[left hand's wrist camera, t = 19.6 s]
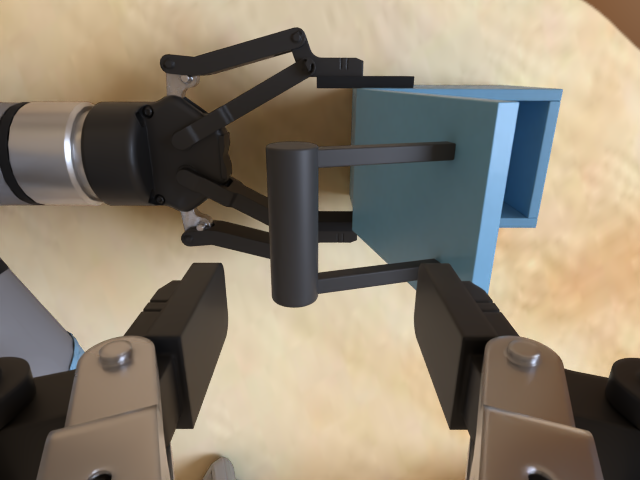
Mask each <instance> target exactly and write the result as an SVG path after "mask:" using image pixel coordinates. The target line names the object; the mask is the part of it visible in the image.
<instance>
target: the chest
mask: <svg viewBox="0 0 640 480" xmlns="http://www.w3.org/2000/svg"><path fill="white" fill-rule="evenodd" d="M357 89H379V90H390V91H402V92H413V93H424V94H436V95H447V96H459V97H470V98H481V99H493V100H504V101H515V102H519V108H518V114H517V120H516V126H515V132H514V138H513V144H512V150H511V157H510V163H509V169H508V175H507V181H506V187H505V193H504V199H503V205H502V211H501V217H500V223H499V228H535V227H536V224H537V218H538V213H539V208H540V203H541V198H542V193H543V188H544V183H545V178H546V173H547V168H548V162H549V157H550V152H551V147H552V142H553V137H554V132H555V127H556V122H557V117H558V112H559V107H560V101H561V97H562V92H563V90H562V89H552V88H537V87H522V86H501V85H414V86H413V88H353V95H352V129H351V145H355V128H356V98H357ZM353 188H354V166H350V199H351V203H352V207H353Z"/></svg>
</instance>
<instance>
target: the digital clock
mask: <svg viewBox="0 0 640 480" xmlns="http://www.w3.org/2000/svg"><path fill="white" fill-rule="evenodd" d="M203 480H236V479H235V473H234V468H233V465H232V463H231V462H230V461H229V460H228V459H227V458H225V457H221V458H219V459H218V460H216V461H215V462H214V463H212V464H211V466H210V467H209V469H208V471H207V473H206V474H205V476H204V478H203Z"/></svg>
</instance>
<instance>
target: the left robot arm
mask: <svg viewBox="0 0 640 480" xmlns="http://www.w3.org/2000/svg"><path fill="white" fill-rule="evenodd" d="M414 328H415V334H416V338H417V341H418V344H419V346H420V349H421V352H422V355H423V357H424V360H425V363H426V366H427V368H428V371H429V374H430V377H431V379H432V382H433V385H434V388H435V390H436V393H437V396H438V399H439V401H440V404H441V407H442V410H443V412H444V415H445V418H446V420H447V423H448V426H449V429H450V430H468V432H469V434H470V442H469V448H468V456H467V466H466V476H465V480H640V358H624V359H620V360H618V361H616V362H615V363H614V364H613V366H612V369H611V372H610V375H609V378H606V377H601V376H596V375H591V374H586V373H581V372H576V371H571V370H567V369H564V366H563V362H562V360H561V358H560V357H559V356H558V355H557V354H556V353H555V352H554V351H553V350H552V349H550V348H549V347H547V346H545V345H543V344H541V343H539V342H537V341H534V340H531V339H528V338H524V337H520V336H519V335H518V334H517V332H516V331H515V330H514V328H513V327H512V326H511V324H510V323H509V322H508V320H507V319H506V318H505V317H504V315H503V314H502V313H501V312H499V309H498V307H497V306H496V305H495V303H493V301H492V299H491V298H490V297H489V295H488V294H487V293H486V292H485V290H483V289H482V288H480V287H479V286H477V285H475V284H474V283H472V282H471V281H461V280H460V278H459V277H458V275H457V274H456V272H455V271H454V269H453V268H452V266H451V265H450V264H449V263H421V264H420V266H419V270H418V278H417V289H416V300H415V311H414ZM227 329H228V309H227V298H226V287H225V275H224V268H223V265H222V263H193V264H192V265H191V267H190V268H189V270H188V271H187V273H186V274H185V276H184V277H183V279H182V280H173V281H171V282H170V283H168V284H166V285H165V286H163V287H162V288H160V289H158V291H157V292H156V293H155V295H154V296H153V297H152V299H151V300H150V303H148V304H147V305H146V307H145V308H144V309H143V312H141V313H140V315H139V316H138V317H137V319H136V320H135V321H134V323H133V324H132V325H131V327H130V328H129V329H128V331H127V332H126V333H125V335H124V336H121V337H116V338H112V339H109V340H106V341H103V342H101V343H99V344H97V345H95V346H93V347H91V348H90V349H88V350H87V351H86V352H85V353H84V354H83V355H82V356H81V357H80V358H79V360H78V362H77V366H76V369H73V370H69V371H64V372H59V373H54V374H49V375H44V376H39V377H34V378H33V375H32V372H31V368H30V365H29V363H28V362H27V361H26V360H24V359H22V358H19V357H0V480H175V476H174V466H173V456H172V448H171V439H172V437H173V434H174V432H175V429H193V428H194V425H195V422H196V420H197V417H198V414H199V411H200V408H201V406H202V403H203V400H204V397H205V394H206V392H207V389H208V386H209V383H210V380H211V378H212V375H213V372H214V369H215V366H216V364H217V361H218V358H219V355H220V352H221V350H222V347H223V344H224V341H225V338H226V335H227Z"/></svg>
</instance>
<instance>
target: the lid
mask: <svg viewBox="0 0 640 480" xmlns="http://www.w3.org/2000/svg"><path fill="white" fill-rule="evenodd" d="M518 108H519V102H515V101H504V100H493V99H481V98H470V97H459V96H447V95H436V94H424V93H413V92H402V91H390V90H379V89H357V98H356V128H355V145H348V146H325V147H318V145H316V144H313V143H308V142H277V143H272V144H269V145H267V146H266V164H267V188H268V213H269V237H270V261H271V285H272V298H273V300H274V301H275V302H276V303H277V304H279V305H281V306H285V307H293V308H295V307H304V306H307V305H310V304H312V303H313V302H315V301H316V299H317V297H318V294H321V293H328V292H336V291H343V290H350V289H357V288H365V287H372V286H379V285H386V284H394V283H401V282H408V283H409V284H410V285H411V286H412V287H413V288H414V289H415V290H416V289H417V278H418V270H419V266H420V264H421V263H449V264H450V265H451V266H452V268H453V269H454V271H455V272H456V274H457V275H458V277H459V278H460V280H461V281H471V282H472V283H474V284H475V285H477V286H479V287H480V288H482V289H483V290H485V292H486V293H487V294H488V290H489V284H490V278H491V272H492V266H493V260H494V254H495V248H496V242H497V236H498V230H499V223H500V217H501V211H502V205H503V199H504V193H505V187H506V181H507V175H508V169H509V163H510V157H511V150H512V144H513V138H514V132H515V126H516V120H517V114H518ZM343 166H354V188H353V219H352V230H353V231H354V232H355V233H356V234H357V235H358V236H359V237H360V238H361V239H362V240H363V241H364V242H365V243H366V244H367V245H368V246H370V247H371V248H372V249H373V250H374V251H375V252H376V253H377V254H378V255H379V256H380V257H381V258H382V259H383V260H384V261H386V262H387V263H388V264H385V265H377V266H369V267H361V268H353V269H345V270H337V271H328V272H320V273H318V168H325V167H343Z"/></svg>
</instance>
